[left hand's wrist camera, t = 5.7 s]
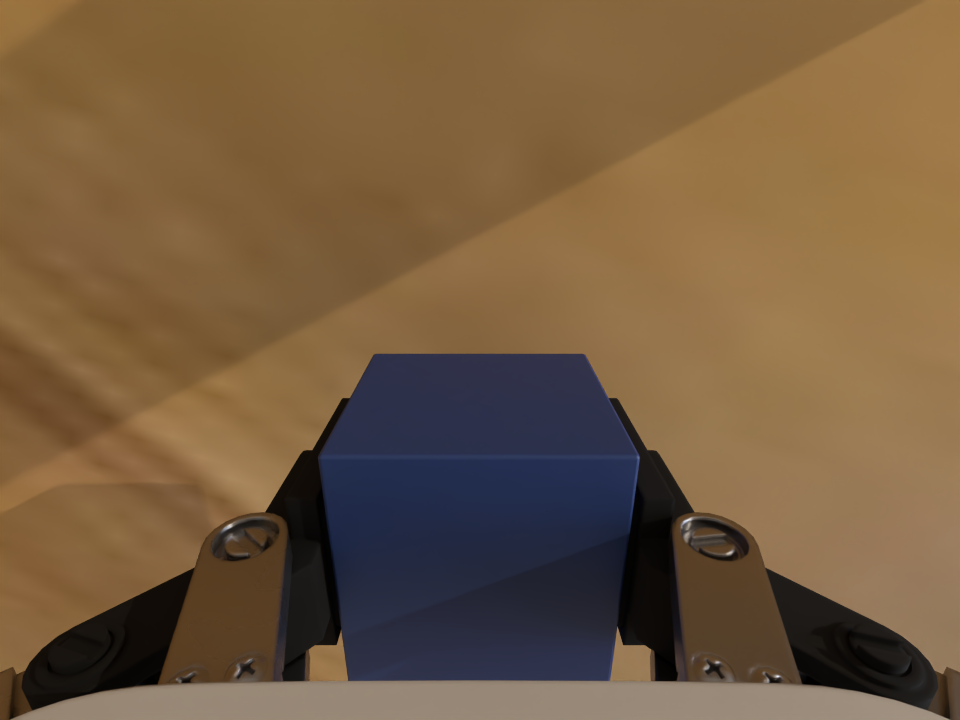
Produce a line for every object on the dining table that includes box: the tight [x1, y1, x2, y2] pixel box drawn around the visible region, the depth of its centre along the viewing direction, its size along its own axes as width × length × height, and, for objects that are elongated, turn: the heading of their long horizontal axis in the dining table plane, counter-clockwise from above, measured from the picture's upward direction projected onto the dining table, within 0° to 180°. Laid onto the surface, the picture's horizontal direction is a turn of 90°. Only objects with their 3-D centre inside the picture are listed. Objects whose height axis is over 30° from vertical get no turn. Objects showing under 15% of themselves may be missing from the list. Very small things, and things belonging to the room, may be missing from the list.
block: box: [318, 354, 640, 681], centre depth 11 cm, size 5×5×4 cm
